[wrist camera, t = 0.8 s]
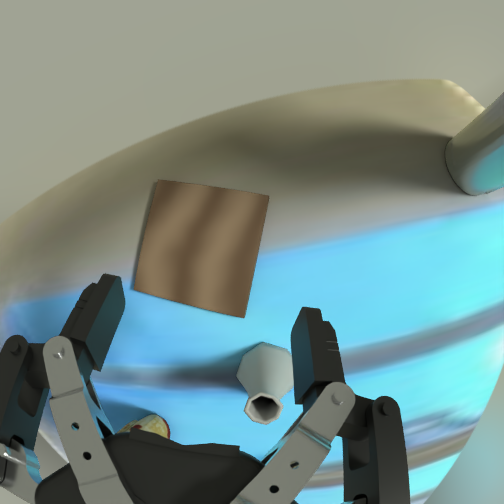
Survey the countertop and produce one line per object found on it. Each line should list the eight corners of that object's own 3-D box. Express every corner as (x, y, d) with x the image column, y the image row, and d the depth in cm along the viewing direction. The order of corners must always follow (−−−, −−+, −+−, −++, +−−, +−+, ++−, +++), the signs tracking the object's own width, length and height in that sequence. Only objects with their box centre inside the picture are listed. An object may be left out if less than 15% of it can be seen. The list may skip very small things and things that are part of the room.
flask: (225, 375, 31) (205, 412, 21) (261, 330, 31) (254, 355, 21) (274, 407, 30) (271, 453, 20) (311, 364, 30) (323, 400, 20)
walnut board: (269, 198, 32) (268, 195, 31) (244, 316, 31) (243, 318, 30) (161, 181, 34) (158, 179, 33) (137, 289, 33) (133, 289, 32)
